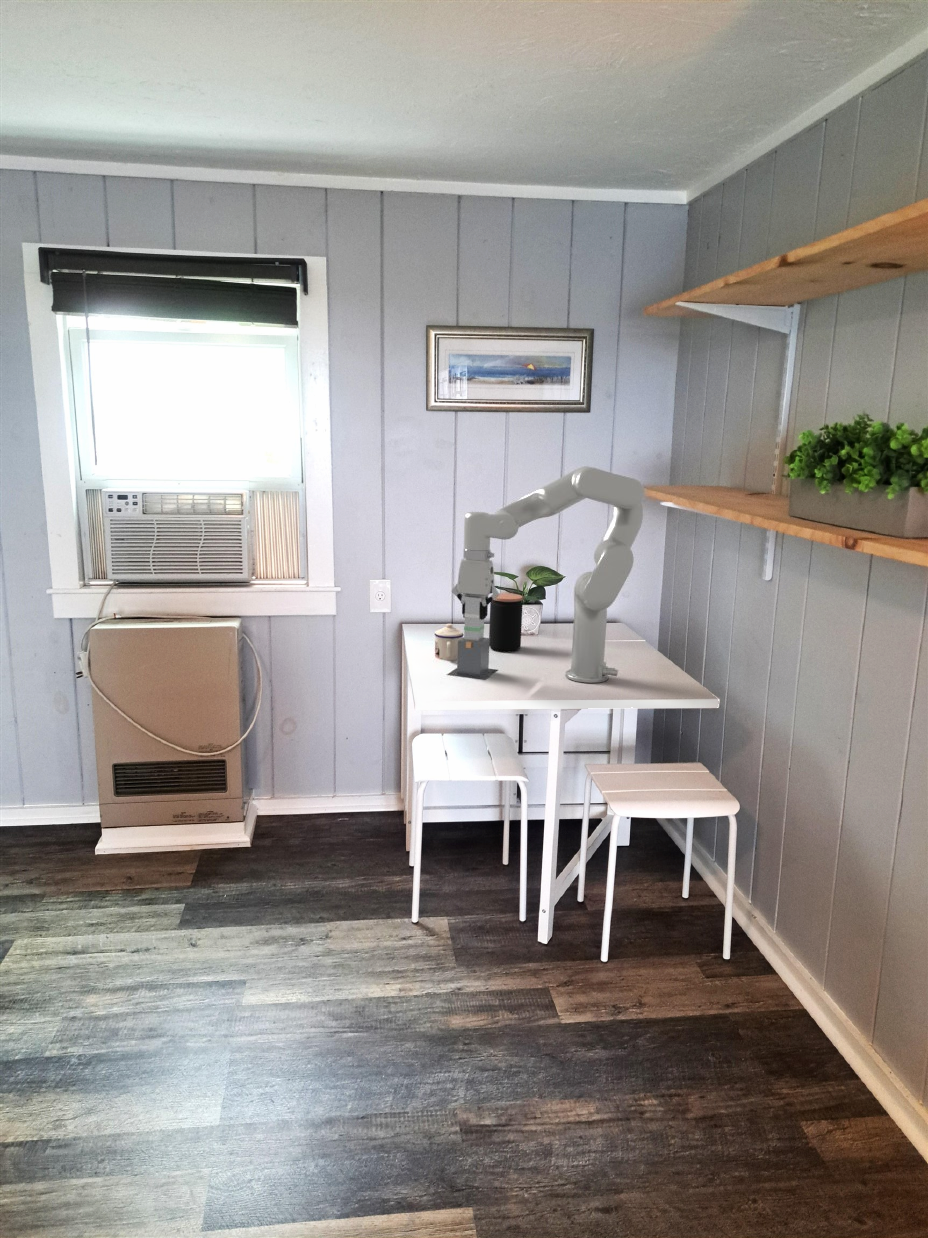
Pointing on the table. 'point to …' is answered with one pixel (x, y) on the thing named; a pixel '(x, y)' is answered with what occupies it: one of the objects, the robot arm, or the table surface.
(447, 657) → the teacup with lid
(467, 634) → the column
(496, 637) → the coffee jar
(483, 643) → the stand
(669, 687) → the table surface
